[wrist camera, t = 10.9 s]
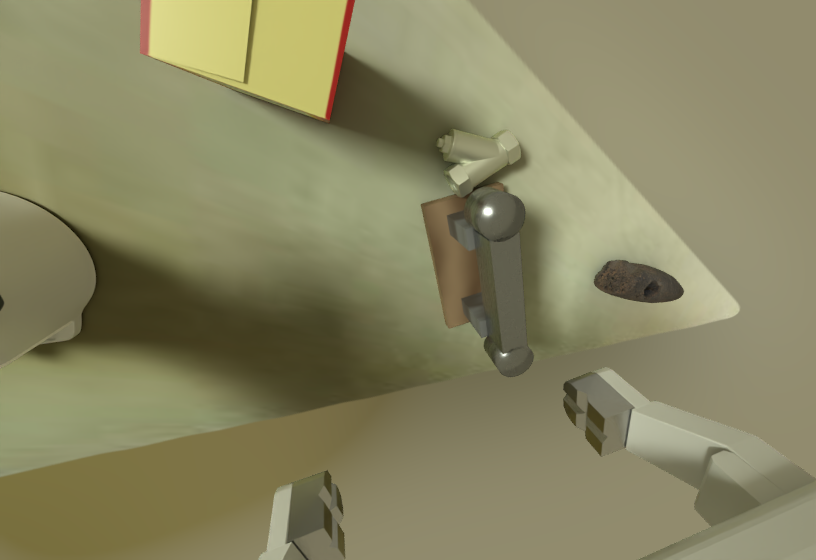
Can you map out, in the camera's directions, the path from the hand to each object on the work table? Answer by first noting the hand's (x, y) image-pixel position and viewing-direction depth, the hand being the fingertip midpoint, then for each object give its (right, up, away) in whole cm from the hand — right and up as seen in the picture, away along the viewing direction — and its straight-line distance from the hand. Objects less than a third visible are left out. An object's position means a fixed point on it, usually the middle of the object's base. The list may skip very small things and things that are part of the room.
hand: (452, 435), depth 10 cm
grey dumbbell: (+8, +5, +26) cm, 28 cm away
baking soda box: (-13, +25, +20) cm, 35 cm away
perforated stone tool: (+33, +6, +41) cm, 53 cm away
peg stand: (+7, +8, +33) cm, 34 cm away
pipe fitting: (+6, +20, +27) cm, 34 cm away
